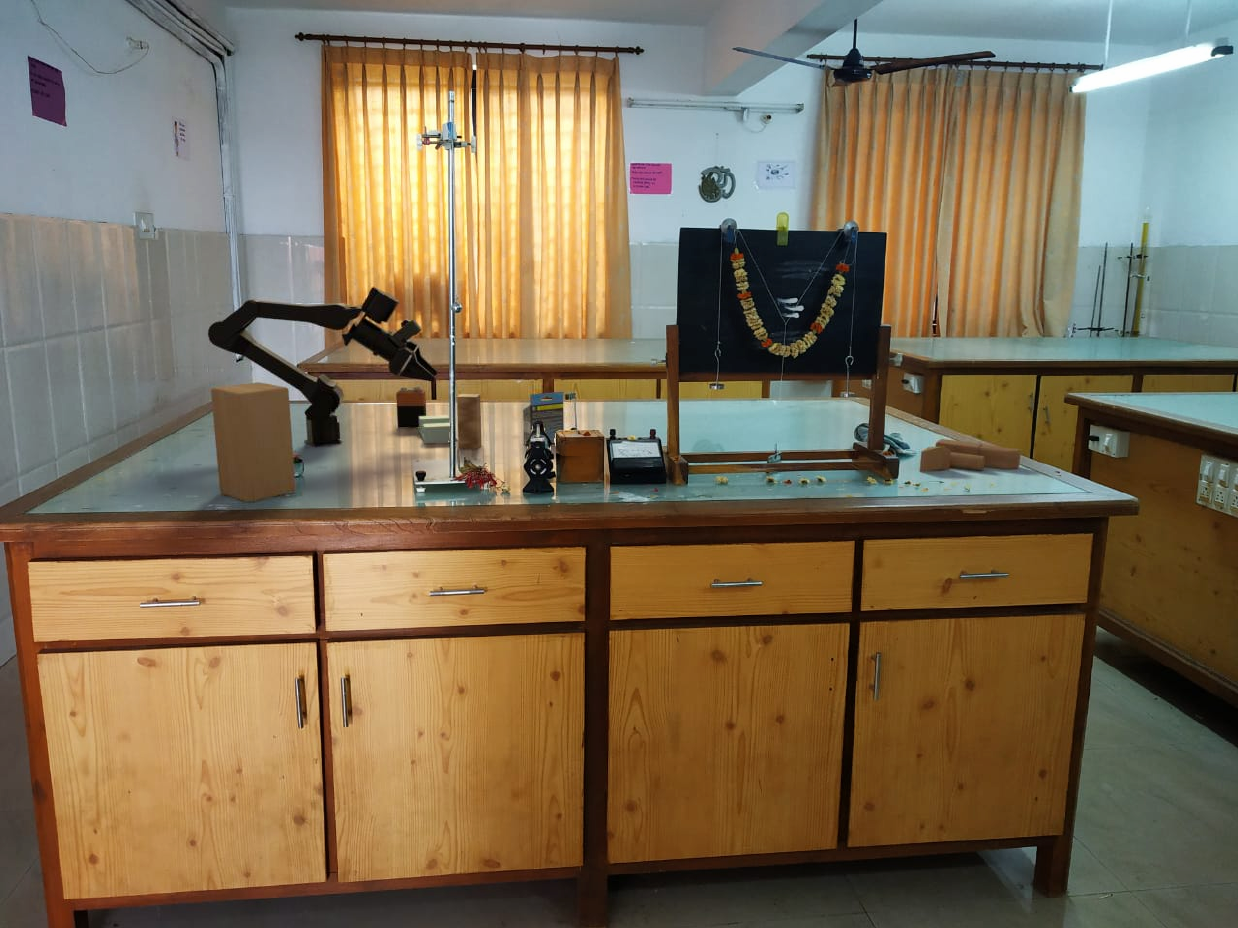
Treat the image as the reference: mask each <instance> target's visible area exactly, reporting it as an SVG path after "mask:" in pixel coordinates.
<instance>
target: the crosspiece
mask: <svg viewBox="0 0 1238 928" xmlns="http://www.w3.org/2000/svg"><path fill="white" fill-rule="evenodd" d="M449 421H451V419H450V416H449V415H448V414H445V415H443V414H441V415H426V416H419V428H418V431H419V435H420V437H421V438H422V441H423V443H424V444H425V443H426V444H425V445H428V444H427V443H435V444H449V443H448V440H449V432H450V423H451V422H450V423H449Z"/></svg>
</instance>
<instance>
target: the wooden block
mask: <svg viewBox="0 0 1238 928" xmlns="http://www.w3.org/2000/svg"><path fill="white" fill-rule="evenodd" d="M210 394H211V406H212V418H213V428H214V440H215V449H216V461H217V462H216V464H217V472H218V474H217V475H218V482H219V484H218V485H219V492H220V494H221V495H224V494H225V496H227V495H228V496H227V497H230V496H231V497H230V498H233V497H234V498H233V499H236V498H237V500H239V499H240V501H242V500H243V501H242V502H245V501H246V503H251V502H250V501H253V502H256V501H255V500H258V501H261V500H260V499H262V500H266V499H265V498H267V499H270V498H269V497H271V498H274V497H273V496H276V497H278V496H277V495H280V496H283V495H282V494H285V495H287V494H286V493H290V492H294V491H295V492H296V477H295V464H294V463H295V462H294V449H293V433H292V420H291V407H290V396H289V395H290V393H289V388H288V387H284V386H280V385H275V384H269V383H265V382H260V381H259V382H248V383H242V384H233V385H225V386H217V387H212V388H211V389H210ZM295 492H294V493H295ZM290 494H291V493H290Z"/></svg>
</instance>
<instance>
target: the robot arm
mask: <svg viewBox="0 0 1238 928" xmlns="http://www.w3.org/2000/svg"><path fill="white" fill-rule="evenodd" d="M399 305H400V301H399V300H398V299H397V298H396V297H395V296H393V295H392V294H390V293H388V292H385V291H383V290H381V289H379V288H377V287H376V286H372V287H371V288H370V290H369V292H368V295H367V297H366V298H365V300H364V302H363V303H362V305H359V304H358V305H356V306H349V305H348V304H347V303H344V302H333V303H332V302H331V303H330V302H329V303H320V304H301V303H292V302H291V303H289V302H280V301H279V302H278V301H270V300H269V301H267V300H260V299H257V298H254V299H253V298H252V299H249V300H246V301H244V303H242V305H241V306H240V307H239V308H238V309H236V310H235V311H233V312H232V313H231V314H230V315H228V316H227V317H226V318H225V319H222V320H218V321H216V322H213V323H211V325H210V326H209V327H208V330H207V337H208V340H209V341H210V343H211V344H212V345H214V347H217V348H219V349H222V350H224V351H226V352H228V353H229V352H230V353H232V354H234V355H235V354H236V355H239V356H242V357H245V358H247V359H248V360H250V361H251V362H253V363H254V364H257V365H258V366H260V367H261V368H262V369H265V371H267V372H269V373H270V374H272V375H274V376H275V377H277V378H279V379H280V380H282V381H284V382H286V383H287V384H289V385H290V386H291V387H292V388H295V389H297V390H298V391H299V392H300V393H301V394H302V396H304V397H305V399H306V400H307V401H308V402H309V403H310V404H311V405H309V406H308V408H306V410H305V411H304V414H305V425H306V439H304V443H306V444H308V445H311V446H314V447H321V446H328V445H330V446H331V445H336V444H341V443H342V442H343V441H342V440H340V439H341V429H340V425H341V424H340V422H339V421H338V415H334V414H336V410H337V409H338V408H339V407H340V406H341V404H343V402H344V398H345V394H344V392H343V388H341V387H340V386H339V382H337V381H334V380H332V379H330V378H329V377H328V376H327V375H326V374H325V373H322V374H321V375H319V376H318V377H316V376H313V375H310V374H309V373H307V372H306V371H304V370H302V369H301V368H299V367H298V366H296V365H294V364H293V363H291V362H289V361H288V360H286V359H285V358H283V357H281V356H280V355H278V354H277V353H276V352H273V351H272V350H270V349H269V348H267V347H265V346H264V345H262V343H259V342H258V341H256V339H254V337H253V336H252V335H251V334H250V333H249V331H247V328H248V327H250V325H252V324H253V322H255V320H257V319H266V320H267V319H268V320H269V319H270V320H278V321H280V320H282V321H289V322H290V321H292V322H300V323H301V322H303V323H309V324H313V325H316V326H318V327H322V328H325V329H330V330H333V331H340V330H344V329H345V328H347V327H349V326H350V325H351V324H352V325H351V326H350V328H349V330H348V331H347V332H346V333H345V332H344V333H342V334H341V337H342V339H343V343H344V346H345V347H348V346H349V345H350V344H351V343H352V341H354V342H355V343H357V344H359V345H360V346H362V347H364V348H365V349H366V350H369V351H370V352H372V355H374V357H377V356H378V357H379V358H381V359H383V360H384V361H386V362H387V363H388V369H389V370H388V371H389V373H392V374H393V375H394V376H396V377H398V375H399V377H401V378H402V377H403V378H410V379H415V380H421V381H427V382H432V383H433V382H434V381H435V380H436V376H437V375H438V371H437V370H436V369H435V367H433V366H432V364H430V363H429V361H427V360H426V359H425V358H424V357H423V356H422V352H421V347H420V346H418V345H419V344H418V343H417V342H415V341H414V340H412V339H411V338H412V337H414V336H416V335H418V334H419V333H421V332H422V330H423V328H421V326H420V325H419V323H418V322H417V321H416V320H415V319H414V318H413V319H411V320H410V319H408V318H405V319H404V320H402V321H401V322H400V328H399V329H398V330H397V331H395V332H393V331H391V330H387V331H386V330H385V329H383V328H381V327H380V326H378V325H381V324H382V322H383V323H388V322H389V320H390V318H391V317H392V315H393V314H394V312H395V310H396V309H397V308H398V306H399ZM363 313H364V314H363ZM362 315H363V316H362ZM361 316H362V317H361ZM359 317H361V319H360V321H359V322H358V323H356V322H353V321H354V320H355V319H357V318H359ZM370 320H371V321H370ZM372 321H373V322H372ZM352 322H353V323H352ZM375 323H376V324H375ZM377 324H378V325H377ZM415 349H416V350H415ZM401 371H402V372H401Z"/></svg>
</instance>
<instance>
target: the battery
mask: <svg viewBox="0 0 1238 928" xmlns="http://www.w3.org/2000/svg"><path fill="white" fill-rule="evenodd" d="M395 396H396V398H395V399H396V419H397V427H398V428H399V427H419V416H427V400H426V399H427V398H426V397H427V395H426V390H425V389H422V386H414V387H412V389H407V387H400V389H399V390H398V391H397V392H396V393H395Z"/></svg>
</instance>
